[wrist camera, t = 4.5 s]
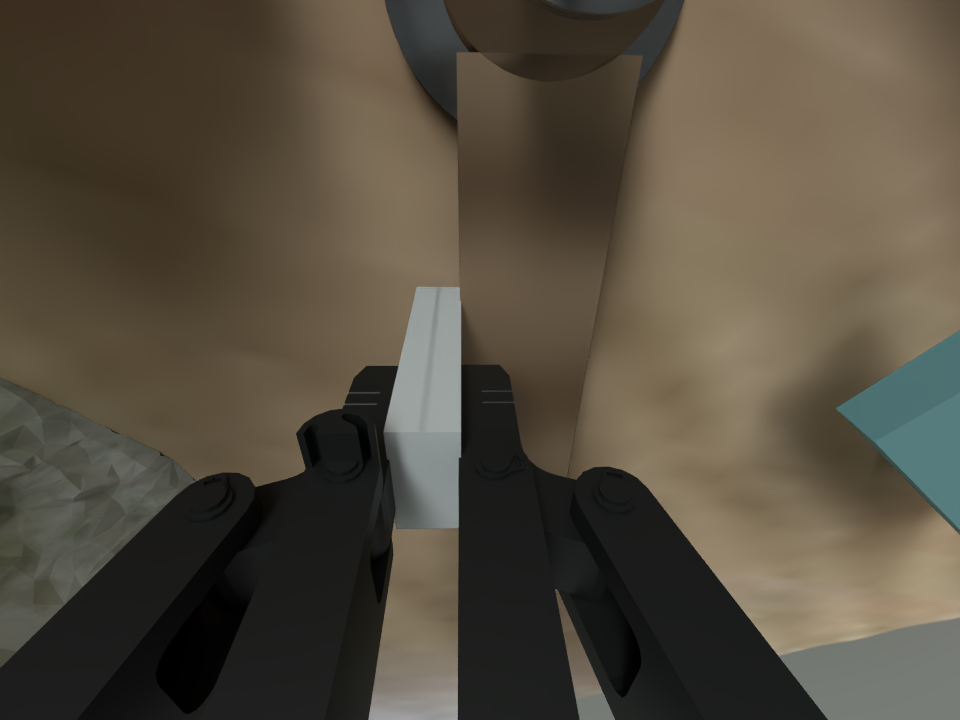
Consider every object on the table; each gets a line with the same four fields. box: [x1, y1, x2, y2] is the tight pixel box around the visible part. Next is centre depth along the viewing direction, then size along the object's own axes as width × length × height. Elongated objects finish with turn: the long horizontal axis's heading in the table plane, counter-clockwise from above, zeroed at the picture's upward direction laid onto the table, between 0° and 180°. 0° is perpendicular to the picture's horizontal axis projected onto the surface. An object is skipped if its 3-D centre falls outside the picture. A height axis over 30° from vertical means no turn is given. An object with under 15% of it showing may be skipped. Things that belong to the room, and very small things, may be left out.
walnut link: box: [444, 0, 665, 478], centre depth 14 cm, size 24×5×3 cm, turn 179°
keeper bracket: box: [836, 330, 960, 534], centre depth 16 cm, size 14×5×6 cm, turn 51°
